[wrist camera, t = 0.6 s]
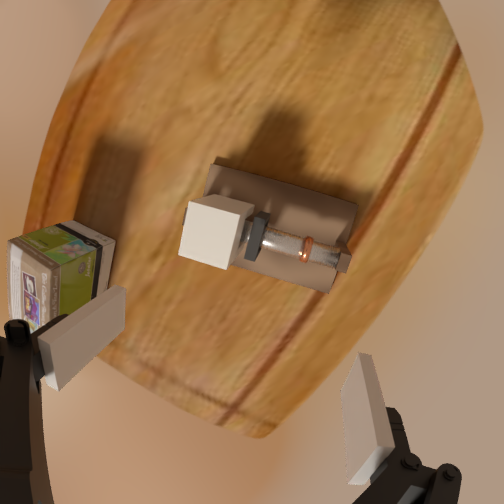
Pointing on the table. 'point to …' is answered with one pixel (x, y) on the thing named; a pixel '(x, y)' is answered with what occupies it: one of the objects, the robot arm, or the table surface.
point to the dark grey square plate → (256, 235)
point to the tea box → (56, 271)
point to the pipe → (295, 246)
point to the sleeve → (214, 230)
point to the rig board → (288, 223)
